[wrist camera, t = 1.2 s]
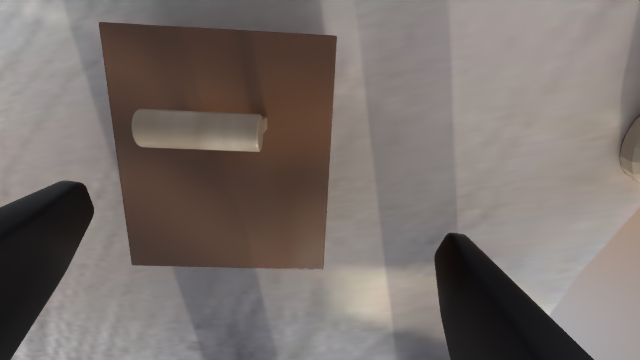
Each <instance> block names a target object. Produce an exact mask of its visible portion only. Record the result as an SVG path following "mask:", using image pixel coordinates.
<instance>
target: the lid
mask: <svg viewBox="0 0 640 360" xmlns="http://www.w3.org/2000/svg"><path fill="white" fill-rule="evenodd" d="M99 28H100V35H101V43H102V50H103V57H104V65H105V72H106V79H107V86H108V94H109V101H110V108H111V116H112V123H113V130H114V137H115V145H116V152H117V159H118V167H119V174H120V181H121V188H122V196H123V203H124V210H125V218H126V225H127V232H128V239H129V247H130V254H131V261H132V265H144V266H188V267H231V268H275V269H318V270H323V265H324V248H325V231H326V214H327V197H328V179H329V162H330V145H331V128H332V111H333V94H334V77H335V60H336V42H337V36H333V35H315V34H298V33H281V32H263V31H246V30H229V29H212V28H194V27H177V26H160V25H142V24H125V23H108V22H99Z"/></svg>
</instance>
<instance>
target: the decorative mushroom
mask: <svg viewBox="0 0 640 360" xmlns="http://www.w3.org/2000/svg"><path fill="white" fill-rule="evenodd" d="M620 162H621V167H622V168H623V170H624V172H625V173H626V174H627V175H628V176H629V177H631V178H632V179H633V180H635V181H636V182H637V183H639V184H640V116H639V117H638V118H637V119H636V120H635V121H634V123H633V124H632V126H631V127H630V129H629V130H628V131H627V134H626V136H625V138H624V141H623V143H622V147H621V152H620Z"/></svg>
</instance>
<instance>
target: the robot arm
mask: <svg viewBox="0 0 640 360" xmlns="http://www.w3.org/2000/svg"><path fill="white" fill-rule="evenodd" d="M93 214H94V207H93V204H92V201H91V199H90V196H89V193H88V191H87V188H86V186H85V185H84V184H83V183H80V182H73V181H60V182H58V183H55V184H53V185H51V186H48V187H46V188H44V189H42V190H39V191H37V192H35V193H32V194H30V195H28V196H25V197H23V198H21V199H19V200H16V201H14V202H12V203H9V204H7V205H5V206H2V207H0V360H11V358H12V356H13V355H14V353H15V352H16V350H17V348H18V347H19V345H20V344H21V342H22V341H23V339H24V337H25V336H26V334H27V333H28V331H29V330H30V328H31V326H32V325H33V323H34V322H35V320H36V319H37V317H38V315H39V314H40V312H41V311H42V309H43V307H44V306H45V304H46V303H47V301H48V300H49V298H50V296H51V295H52V293H53V292H54V290H55V289H56V287H57V285H58V284H59V282H60V281H61V279H62V277H63V276H64V274H65V272H66V270H67V268H68V266H69V265H70V263H71V260H72V258H73V256H74V254H75V252H76V250H77V248H78V246H79V244H80V242H81V240H82V238H83V236H84V234H85V232H86V230H87V228H88V226H89V224H90V222H91V220H92V217H93ZM434 260H435V270H436V279H437V288H438V296H439V305H440V313H441V318H442V323H443V328H444V333H445V337H446V341H447V346H448V350H449V355H450V359H451V360H594V359H593V358H592V357H591V356H590V355H588V353H586V352H585V351H584V350H583V349H582V348H581V347H580V346H579V345H578V344H577V343H576V342H575V341H574V340H573V339H572V338H571V337H570V336H569V335H568V334H567V333H566V332H565V331H564V330H563V329H562V328H561V327H560V326H559V325H558V324H556V322H555V321H554V320H553V319H551V318H550V317H549V316H548V315H547V314H546V313H545V312H544V311H543V310H542V309H541V308H540V307H539V306H538V305H537V304H536V303H535V302H534V301H533V300H532V299H531V298H530V297H529V296H528V295H527V294H526V293H525V292H524V291H523V290H522V289H521V288H520V287H519V286H518V285H516V284H515V283H514V282H513V281H512V280H511V279H510V278H509V277H508V276H507V275H506V274H505V273H504V272H503V271H502V270H501V269H500V268H499V267H498V266H497V265H496V264H495V263H494V262H493V261H492V260H491V259H490V258H489V257H488V256H487V255H486V254H485V253H484V252H483V251H482V250H480V249H479V248H478V247H477V246H476V245H475V244H474V243H473V242H472V241H471V240H470V239H469V238H468V237H467V236H466V235H463V234H457V233H449V234H447V235H446V236H445V238H444V240H443V241H442V243H441V244H440V246H439V248H438V249H437V251H436V253H435V259H434Z"/></svg>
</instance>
